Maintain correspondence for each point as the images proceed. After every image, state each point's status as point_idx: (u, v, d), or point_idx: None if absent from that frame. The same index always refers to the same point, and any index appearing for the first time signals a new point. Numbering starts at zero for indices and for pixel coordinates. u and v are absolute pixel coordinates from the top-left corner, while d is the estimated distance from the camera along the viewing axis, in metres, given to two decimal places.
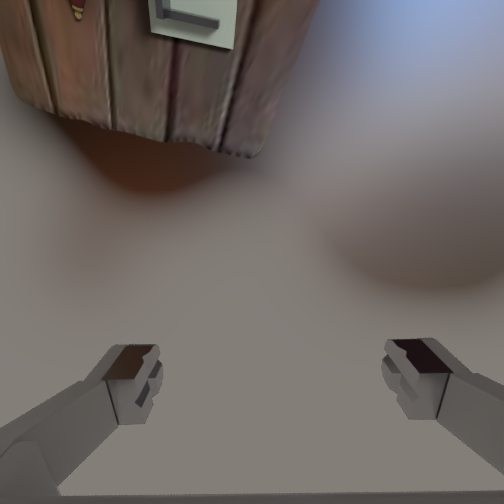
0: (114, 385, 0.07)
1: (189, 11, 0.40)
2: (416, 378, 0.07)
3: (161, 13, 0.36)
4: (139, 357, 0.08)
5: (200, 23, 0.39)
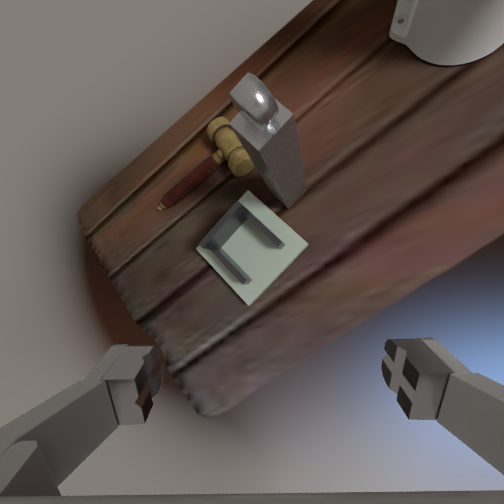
0: (114, 385, 0.07)
1: (232, 258, 0.42)
2: (416, 378, 0.07)
3: (204, 244, 0.38)
4: (139, 357, 0.08)
5: (231, 270, 0.39)
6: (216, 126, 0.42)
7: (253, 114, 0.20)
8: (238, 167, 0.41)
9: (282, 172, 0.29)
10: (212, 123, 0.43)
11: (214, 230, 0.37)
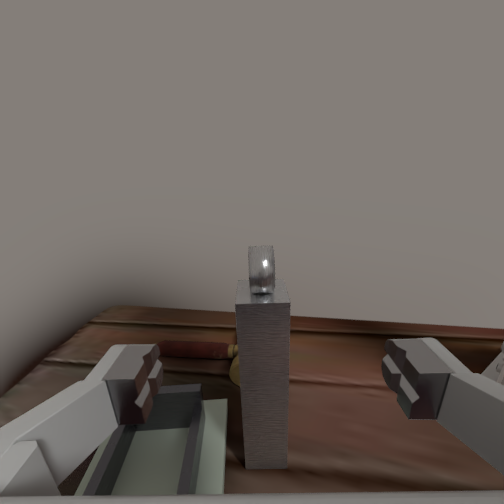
0: (114, 385, 0.07)
1: (125, 459, 0.26)
2: (416, 378, 0.07)
3: None
4: (139, 357, 0.08)
5: (99, 465, 0.23)
6: None
7: None
8: (237, 368, 0.35)
9: (254, 374, 0.22)
10: None
11: None
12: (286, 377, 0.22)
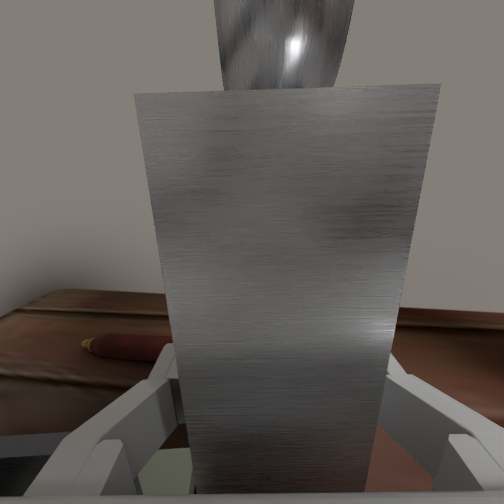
0: (177, 384, 0.07)
1: None
2: None
3: None
4: None
5: None
6: None
7: None
8: None
9: (245, 442, 0.06)
10: None
11: None
12: (362, 451, 0.06)
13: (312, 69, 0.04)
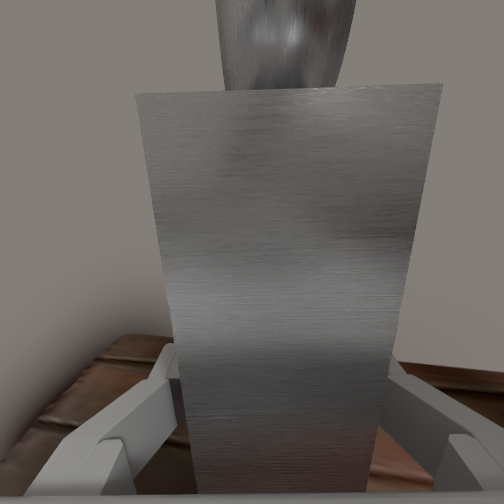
0: (177, 384, 0.07)
1: None
2: None
3: None
4: None
5: None
6: None
7: None
8: None
9: (247, 442, 0.06)
10: None
11: None
12: (364, 452, 0.06)
13: (314, 69, 0.04)
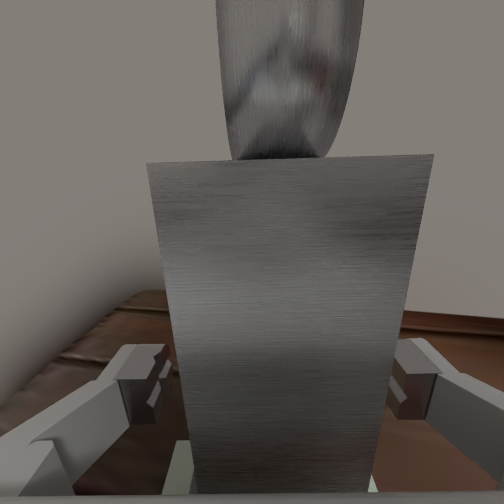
0: (126, 385, 0.07)
1: None
2: (404, 378, 0.07)
3: None
4: (150, 357, 0.08)
5: None
6: None
7: None
8: None
9: (249, 471, 0.06)
10: None
11: None
12: (361, 479, 0.06)
13: (313, 129, 0.04)
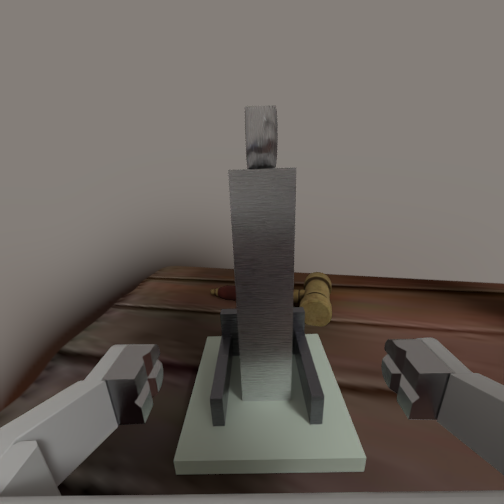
0: (114, 385, 0.07)
1: (231, 376, 0.25)
2: (416, 378, 0.07)
3: (226, 313, 0.26)
4: (139, 357, 0.08)
5: (217, 370, 0.22)
6: (317, 275, 0.41)
7: (245, 117, 0.15)
8: (308, 304, 0.34)
9: (252, 272, 0.18)
10: (316, 273, 0.42)
11: None
12: (290, 275, 0.18)
13: (269, 160, 0.16)
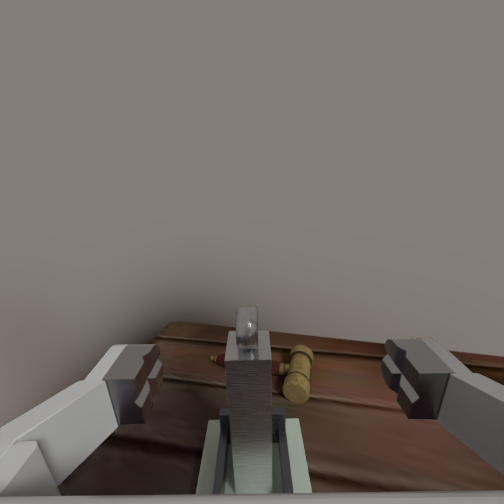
0: (114, 385, 0.07)
1: (227, 467, 0.32)
2: (416, 378, 0.07)
3: (224, 414, 0.33)
4: (139, 357, 0.08)
5: (217, 472, 0.29)
6: (301, 349, 0.48)
7: (236, 327, 0.23)
8: (290, 386, 0.41)
9: (242, 416, 0.25)
10: (300, 346, 0.50)
11: None
12: (269, 419, 0.25)
13: (253, 349, 0.23)
